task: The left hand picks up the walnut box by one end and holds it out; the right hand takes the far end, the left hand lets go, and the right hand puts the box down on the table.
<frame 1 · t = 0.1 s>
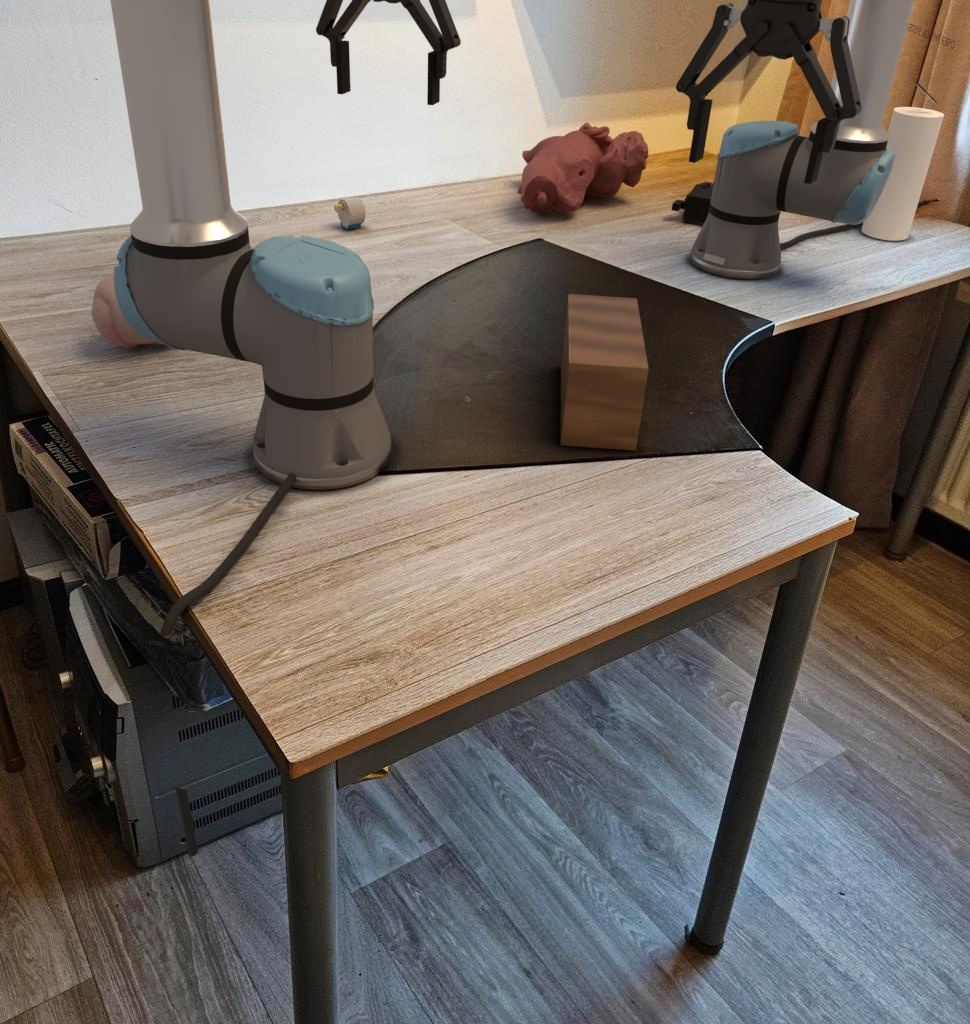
left hand: (388, 98, 135), 28 cm above the table, tool pointing down, fingers open, 13 cm apart
right hand: (751, 170, 110), 28 cm above the table, tool pointing down, fingers open, 13 cm apart
toy: (710, 205, 196), on the table
white pillar candle: (880, 233, 185), on the table
electric motor: (348, 228, 174), on the table
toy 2: (151, 340, 131), on the table
box: (595, 406, 121), on the table
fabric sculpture: (573, 204, 192), on the table
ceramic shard: (215, 291, 146), on the table
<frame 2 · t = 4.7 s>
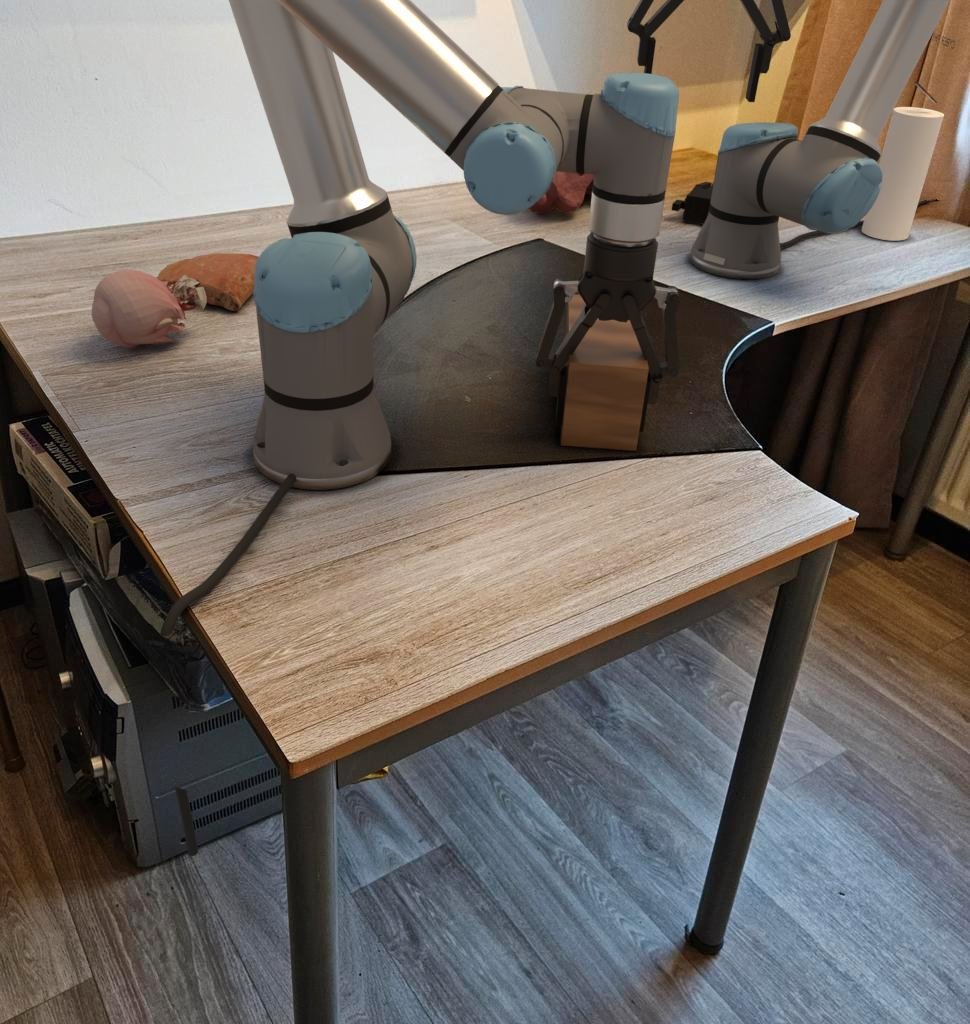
left hand: (599, 423, 114), 2 cm above the table, tool pointing down, fingers closed on box, 9 cm apart
right hand: (697, 97, 125), 32 cm above the table, tool pointing down, fingers open, 13 cm apart
box: (596, 406, 121), on the table, touching left hand
everything else where it was.
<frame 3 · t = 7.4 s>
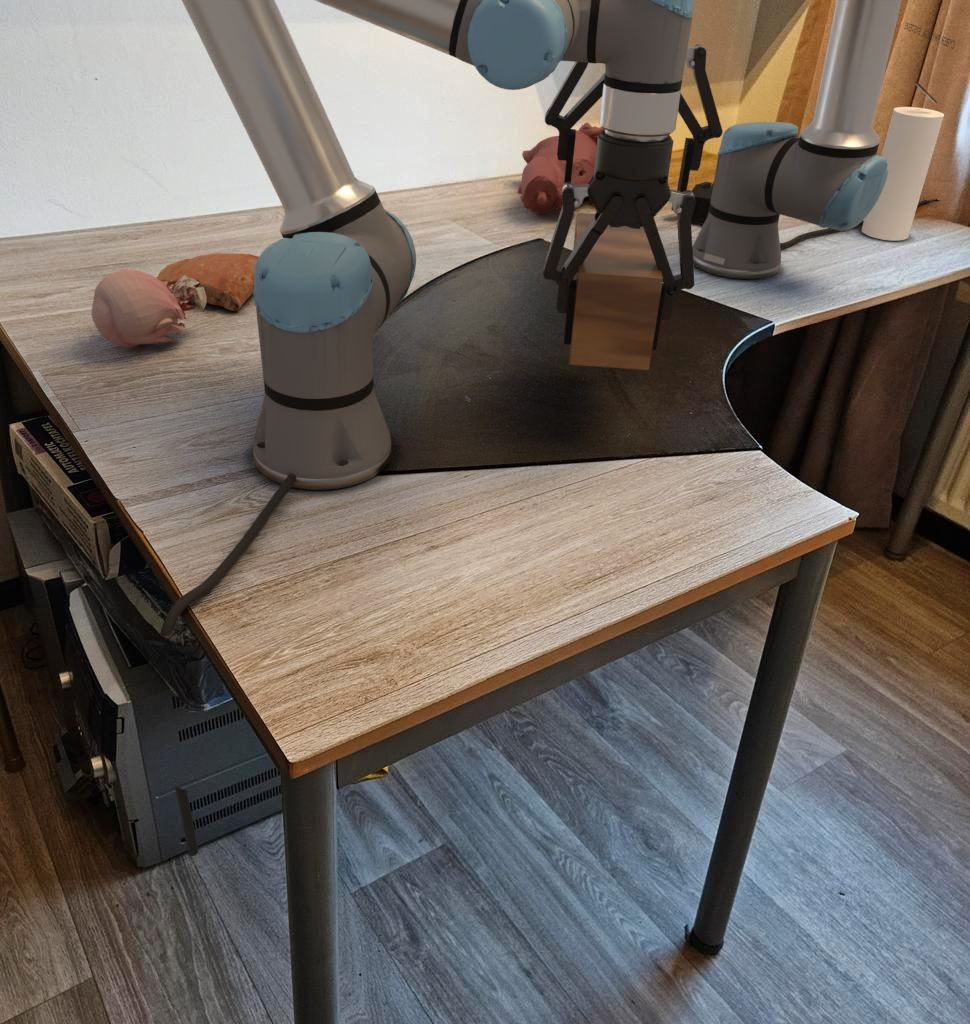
left hand: (609, 342, 108), 12 cm above the table, tool pointing down, fingers closed on box, 9 cm apart
right hand: (623, 193, 115), 24 cm above the table, tool pointing down, fingers open, 13 cm apart
box: (605, 329, 115), point 10 cm above the table, touching left hand
everything else where it was.
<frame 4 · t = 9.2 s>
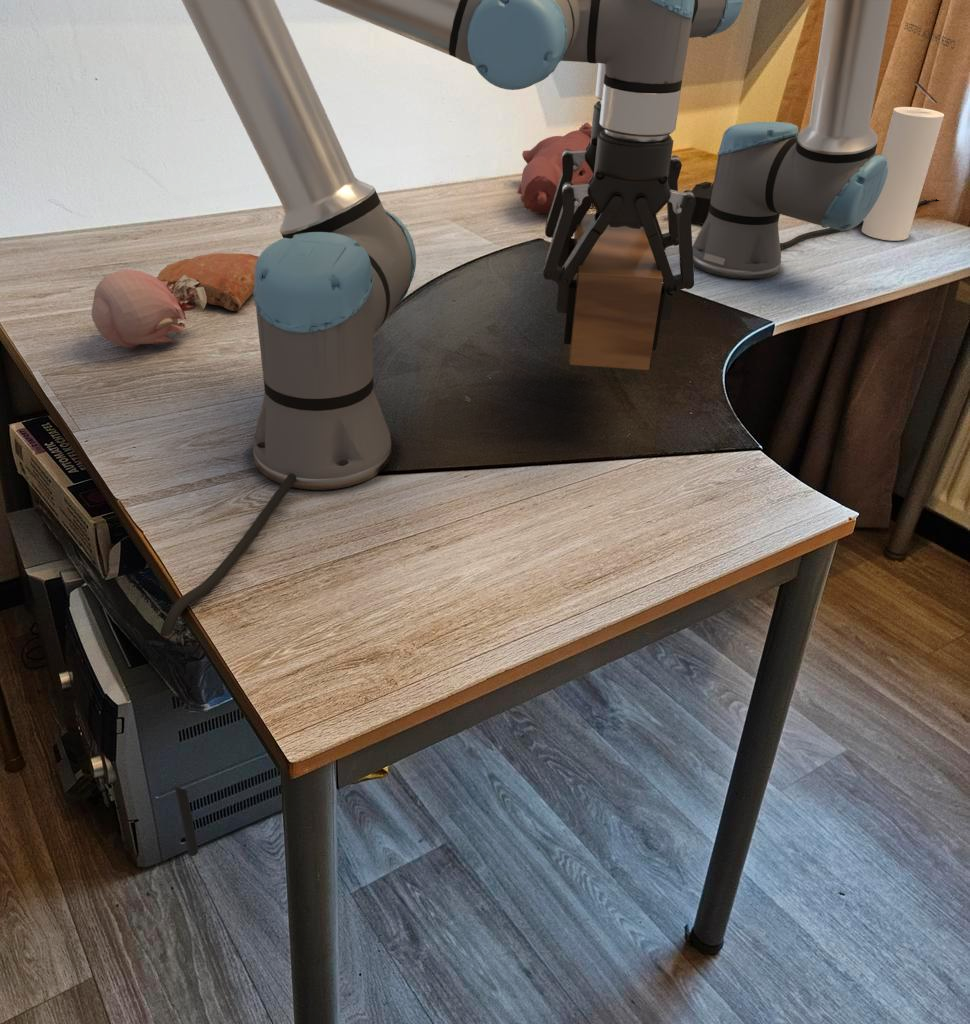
left hand: (609, 342, 108), 12 cm above the table, tool pointing down, fingers closed on box, 9 cm apart
right hand: (605, 295, 120), 12 cm above the table, tool pointing down, fingers closed on box, 9 cm apart
box: (605, 329, 115), point 10 cm above the table, touching left hand, right hand
everything else where it was.
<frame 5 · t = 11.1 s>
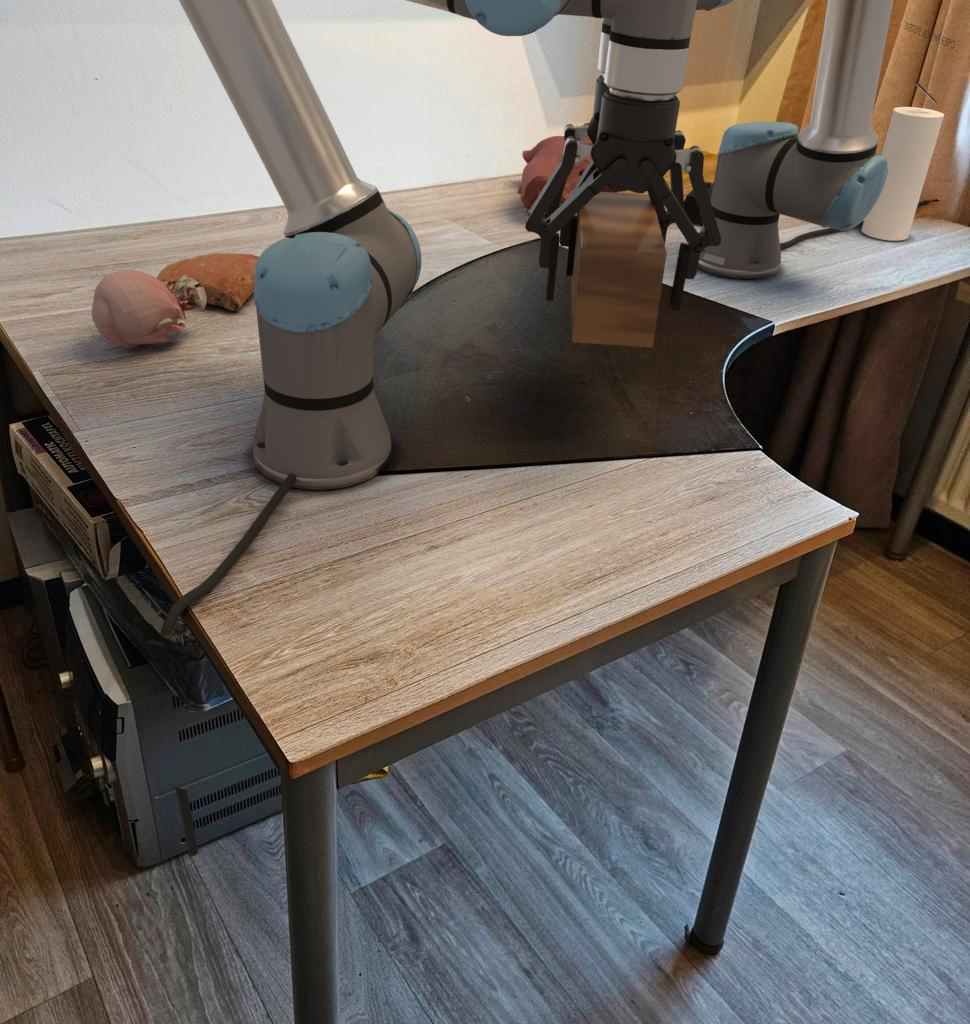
left hand: (612, 301, 104), 17 cm above the table, tool pointing down, fingers open, 13 cm apart
right hand: (608, 274, 118), 15 cm above the table, tool pointing down, fingers closed on box, 9 cm apart
box: (608, 308, 113), point 13 cm above the table, touching right hand
everything else where it was.
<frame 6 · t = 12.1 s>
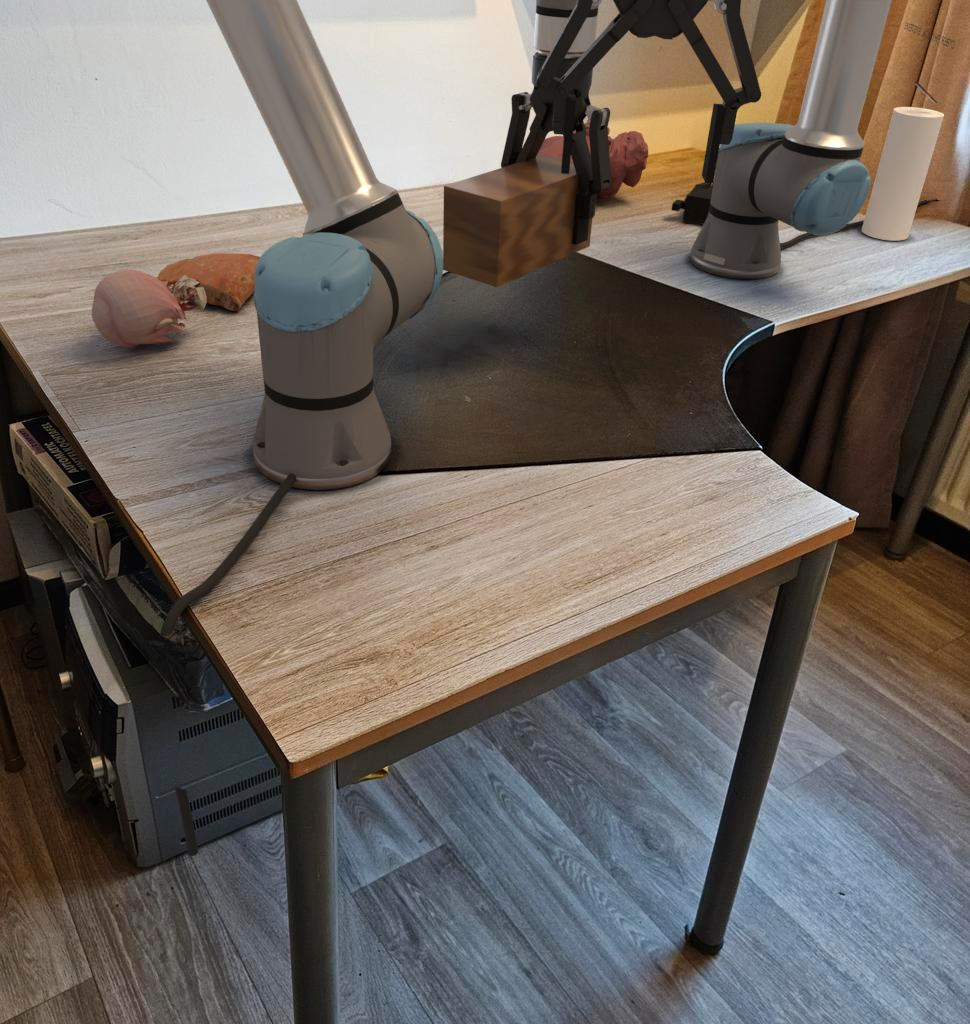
left hand: (636, 175, 92), 32 cm above the table, tool pointing down, fingers open, 13 cm apart
right hand: (550, 233, 131), 14 cm above the table, tool pointing down, fingers closed on box, 9 cm apart
box: (518, 257, 127), point 13 cm above the table, touching right hand
everything else where it was.
when the right hand's fingers open (3 cm above the table, at t = 15.2 s): box drops 1 cm, on the table.
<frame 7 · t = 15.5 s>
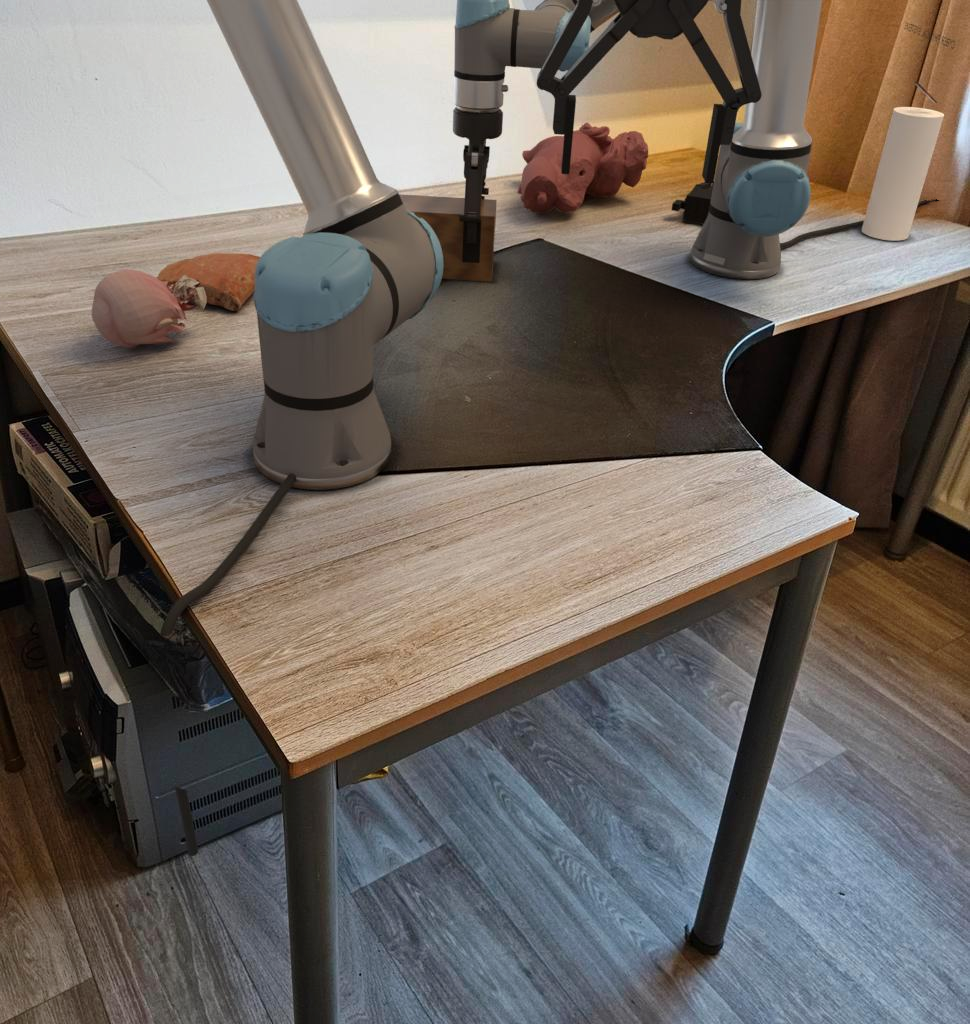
left hand: (636, 175, 92), 32 cm above the table, tool pointing down, fingers open, 13 cm apart
right hand: (472, 248, 156), 4 cm above the table, tool pointing down, fingers open, 12 cm apart
box: (429, 268, 158), on the table
everything else where it was.
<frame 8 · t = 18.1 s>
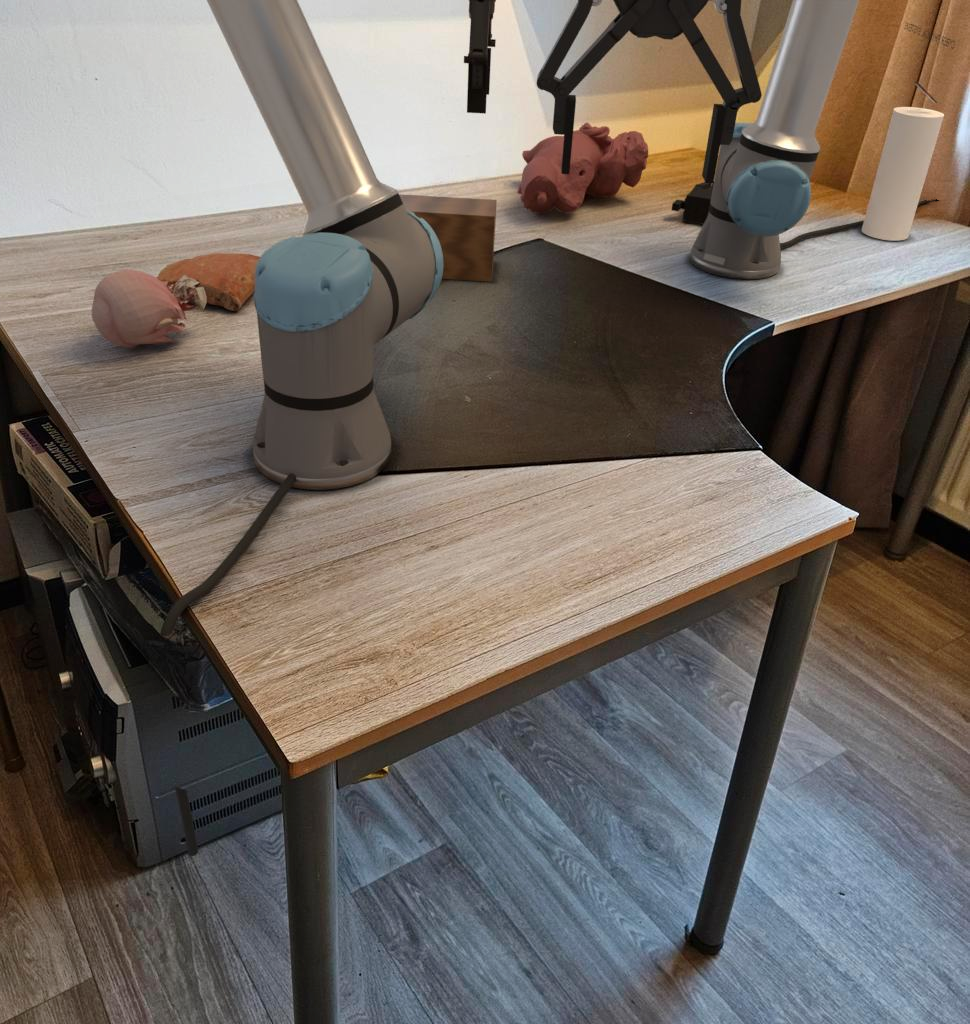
left hand: (636, 175, 92), 32 cm above the table, tool pointing down, fingers open, 13 cm apart
right hand: (478, 103, 144), 26 cm above the table, tool pointing down, fingers open, 13 cm apart
nothing on the table moved.
at the end: box inside the target area (7.0 cm from its centre), on the table; the left hand is holding nothing; the right hand is holding nothing; box at rest at the end (0.0 cm/s) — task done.
